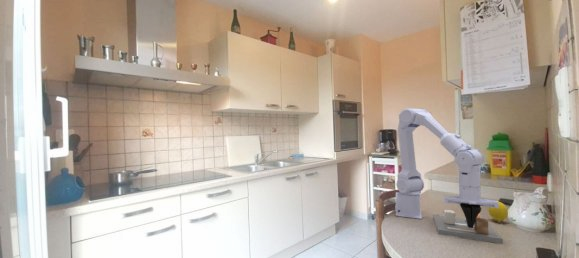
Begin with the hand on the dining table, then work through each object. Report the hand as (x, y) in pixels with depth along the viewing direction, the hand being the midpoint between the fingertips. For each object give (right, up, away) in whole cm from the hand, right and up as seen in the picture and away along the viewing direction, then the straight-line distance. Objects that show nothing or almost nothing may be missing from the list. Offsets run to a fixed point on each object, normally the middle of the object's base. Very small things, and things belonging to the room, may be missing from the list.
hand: (470, 226), depth 80 cm
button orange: (+7, 0, +8) cm, 10 cm away
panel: (+1, -3, +5) cm, 6 cm away
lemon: (+19, -3, +12) cm, 23 cm away
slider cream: (-2, -1, +7) cm, 8 cm away
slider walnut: (+3, -1, -1) cm, 3 cm away
